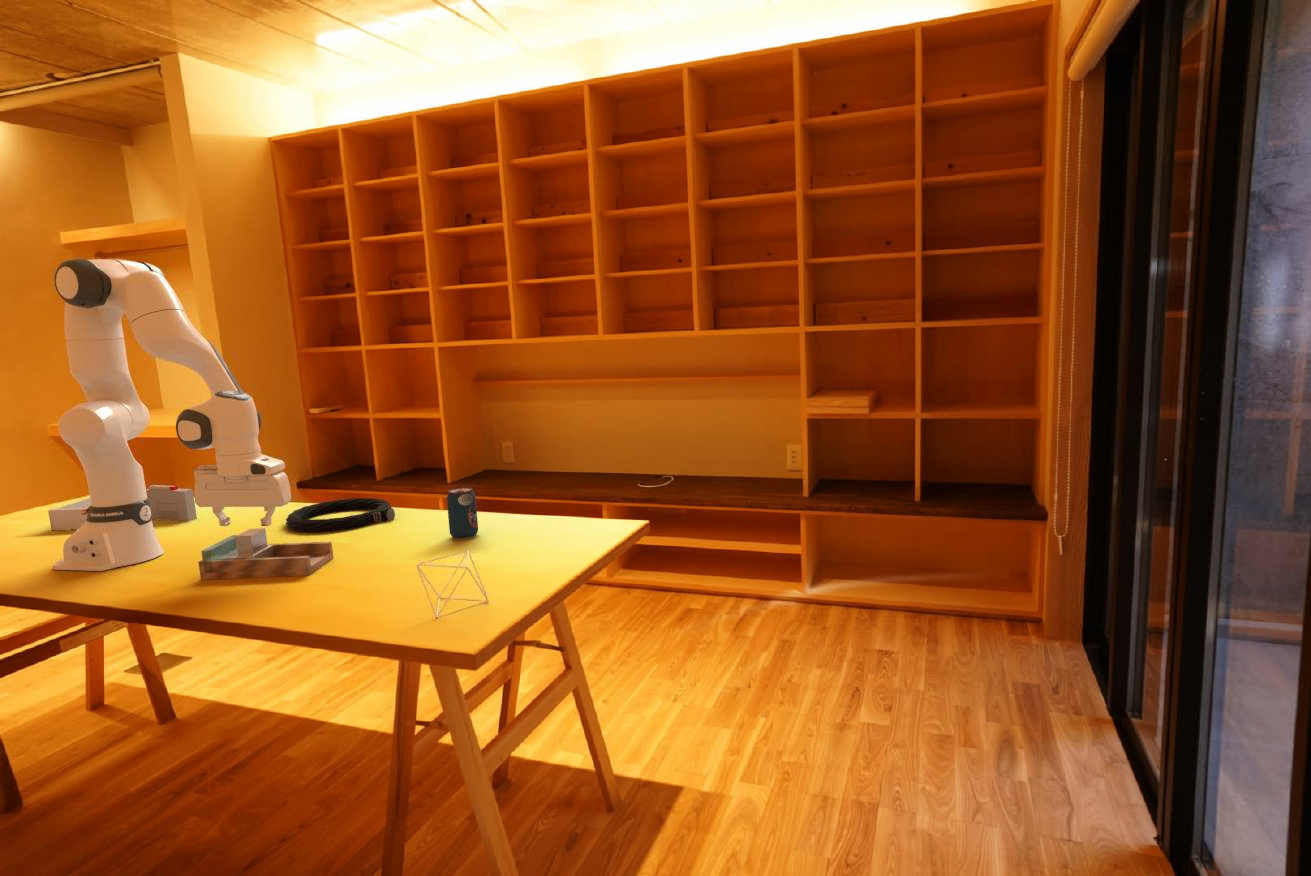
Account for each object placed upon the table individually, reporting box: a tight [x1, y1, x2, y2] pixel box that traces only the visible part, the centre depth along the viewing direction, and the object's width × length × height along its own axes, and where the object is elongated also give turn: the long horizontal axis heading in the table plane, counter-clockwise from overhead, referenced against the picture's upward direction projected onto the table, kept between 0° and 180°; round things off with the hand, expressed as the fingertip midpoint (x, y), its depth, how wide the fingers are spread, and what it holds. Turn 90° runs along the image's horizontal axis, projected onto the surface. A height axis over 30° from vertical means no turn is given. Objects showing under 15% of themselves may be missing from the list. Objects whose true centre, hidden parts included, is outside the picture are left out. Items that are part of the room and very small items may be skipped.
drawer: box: [197, 534, 334, 581], centre depth 171 cm, size 24×12×6 cm, turn 89°
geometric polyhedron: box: [415, 550, 489, 619], centre depth 143 cm, size 12×11×9 cm
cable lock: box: [285, 497, 396, 533], centre depth 213 cm, size 28×4×30 cm
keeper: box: [216, 527, 275, 560], centre depth 171 cm, size 8×9×7 cm
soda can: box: [446, 486, 479, 541], centre depth 189 cm, size 7×7×12 cm
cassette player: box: [146, 484, 198, 522], centre depth 223 cm, size 16×3×10 cm, turn 71°
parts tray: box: [47, 497, 91, 531], centre depth 227 cm, size 13×23×6 cm, turn 179°
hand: (245, 525), depth 170 cm, fingers open, 8 cm apart
